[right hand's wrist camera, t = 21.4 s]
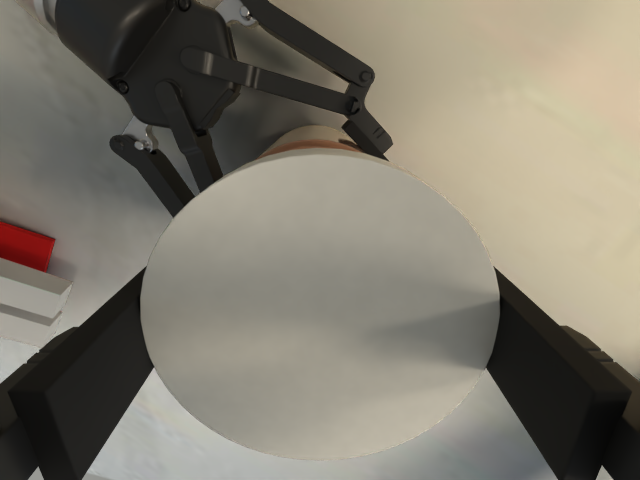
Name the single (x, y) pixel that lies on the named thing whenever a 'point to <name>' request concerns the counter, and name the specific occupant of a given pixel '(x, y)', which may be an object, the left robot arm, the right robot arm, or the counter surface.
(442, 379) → the lid
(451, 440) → the counter surface
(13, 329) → the toy
